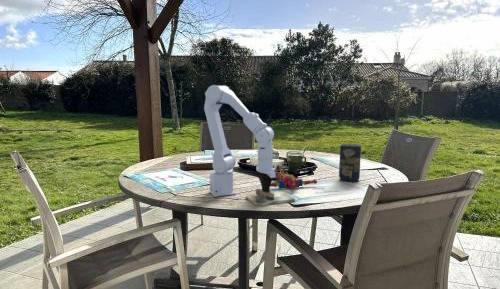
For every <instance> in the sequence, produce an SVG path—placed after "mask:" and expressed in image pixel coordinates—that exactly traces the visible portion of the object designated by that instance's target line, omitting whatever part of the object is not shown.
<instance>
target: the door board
mask: <svg viewBox="0 0 500 289" xmlns="http://www.w3.org/2000/svg"><path fill="white" fill-rule="evenodd" d="M273 193H274V199H267V198H266V195H256V193H255V194H248V195H245V199H247V200H248V201H249V202H250V203H251V204H253V205H254V206H255V207H260V206H268V205H276V204H285V203H293V202H292V201H295V202H296V198H294V197H292V195H289V194H287V193H286V192H284V191H276V192H273Z"/></svg>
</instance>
